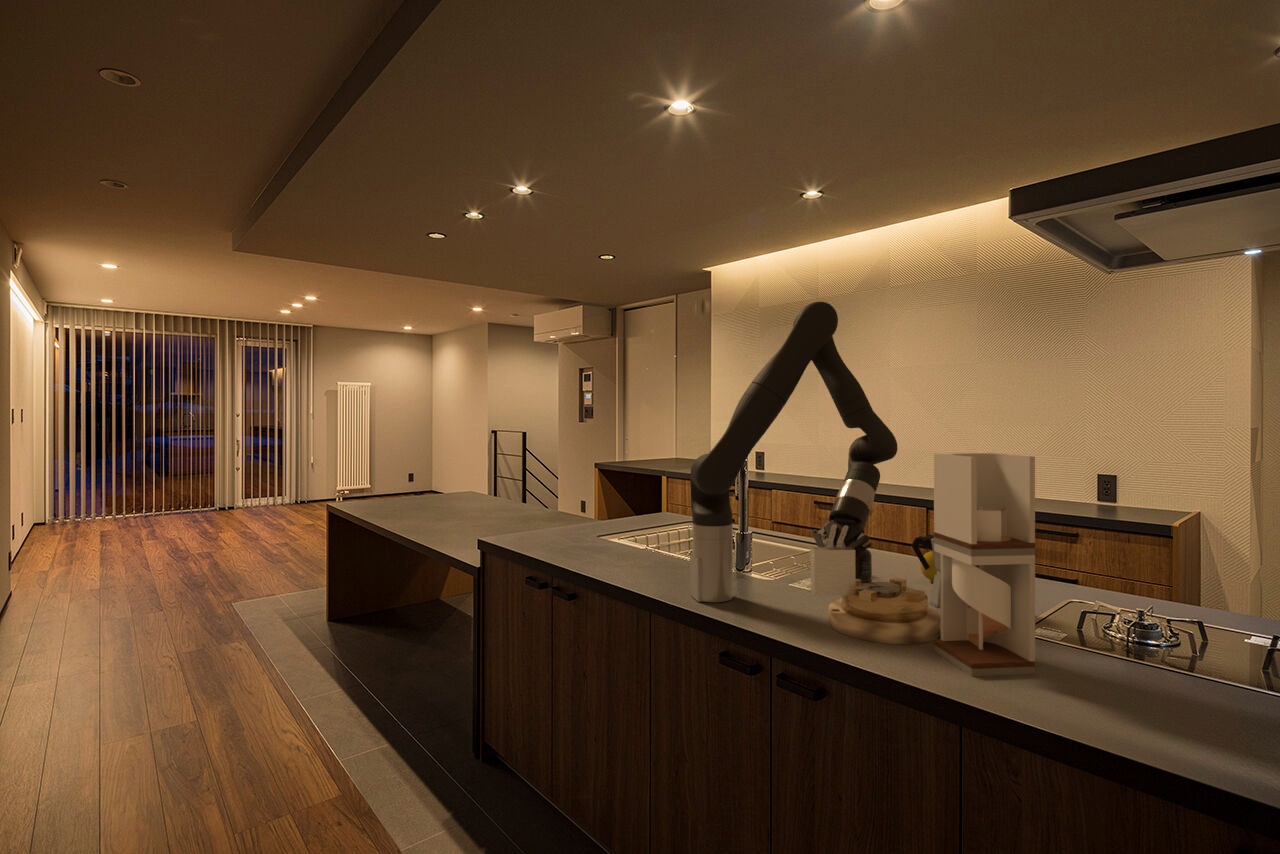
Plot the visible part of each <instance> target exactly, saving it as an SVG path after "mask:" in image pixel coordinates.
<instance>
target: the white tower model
mask: <svg viewBox="0 0 1280 854" xmlns="http://www.w3.org/2000/svg"><path fill="white" fill-rule="evenodd" d="M933 535H934V551H935V552H938V553H941V609H940V614H941V636H940V639H939V638H937V639H935V640H933V641H934V647H933V648H934V652H935V653H937V654H938V655H940V657H943V658H944V659H945V660H946V661H948V662H949V663H951V664H953V665H954V666H956V667H957V668H958V669H960V670H962V671H963V672H965V673H966V674H967V675H969V676H970V677H985V676H986V677H987V676H989V677H990V676H991V677H993V676H1012V675H1014V676H1016V675H1017V676H1019V675H1035V674H1036V456H1034V455H1033V456H1032V455H1020V454H1006V453H999V452H998V453H995V452H994V453H993V452H973V453H972V452H966V453H965V452H961V453H960V452H959V453H957V452H954V453H953V452H952V453H948V452H947V453H933Z"/></svg>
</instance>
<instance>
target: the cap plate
mask: <svg viewBox="0 0 1280 854" xmlns="http://www.w3.org/2000/svg"><path fill="white" fill-rule="evenodd" d="M828 624H829V626H830V627H831V628H832V629H833V630H834V631H837V632H838V633H840V634H843V635H845V636H848V637H851V638H853V639H854V638H855V639H858V640H862V641H867V642H871V643H872V642H873V643H880V644H891V645H915V644H916V645H917V644H923V643H924V644H925V643H928V642H929V643H930V642H933V641H934V640H937V639H939V638H941V612H939V611H938V610H936V609H934V608H933V607H930V606H928V614H927V616H926V617H925V618H923V619H920V620H916V621H908V622H887V621H878V620H871V619H866V618H861V617H858V616H855V615H852V614H849V613H847V612H846V611H844V610H843V609H842V607H841V598H840V599H836V600H834V601H832V602H830V603H829V605H828Z"/></svg>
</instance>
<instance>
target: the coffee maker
mask: <svg viewBox="0 0 1280 854" xmlns="http://www.w3.org/2000/svg"><path fill="white" fill-rule="evenodd" d="M919 546H922V547H924V548H926V549H928V550H929V551H932V552H933V559H934V566H935V569H936V570H937V573H936V574H935V576H934V582H932V588H931V595H930V600H929V601H930V602H929V604H930V605H931V604H932V606H933V605H934V606H935V608H936V607H937V608H936V609H939V608H941V553H938V552H935V551H934V534H927V535H925V536H923V535H920V536H916V537H915V538H914V539H913V541H912V543H911V548H912V550H913V552H914V553H915V555H916V557H917V558H918V560H919V562H920V565H921V564H922V565H923V567H924V569H925V570H927V569H928V568H930V566H929V564H928V563H927V561H926V559H925V558H924V554H923V552H922V551H921V549H920V548H919ZM934 606H933V607H934Z"/></svg>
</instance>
